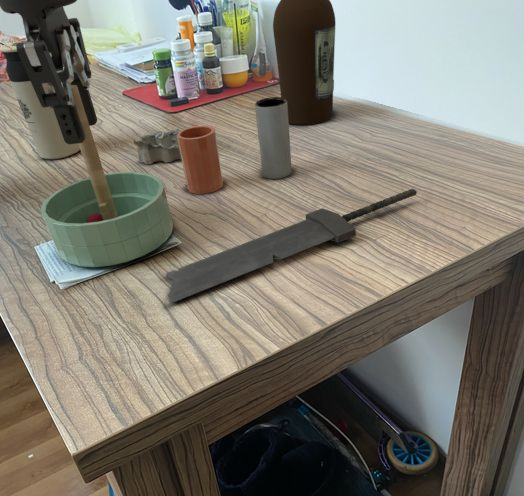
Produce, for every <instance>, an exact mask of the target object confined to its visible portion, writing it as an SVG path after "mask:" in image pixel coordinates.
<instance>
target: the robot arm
mask: <svg viewBox="0 0 524 496" xmlns="http://www.w3.org/2000/svg"><path fill="white" fill-rule="evenodd" d="M77 1H78V0H0V9H1V10H2V11H3V12H4V13H6V14H9V15H11V14H12V15H15V14H17V15H20V17H21V19H22V23H23V29H24V33H25V40H26V42H24V43H17V44H16V48H17V52H18V54H19V57H20V59H21V61H22V63H23V66H24V68H25V70H26V72H27V75H28V77H29V79H30V81H31V84H32V86H33V88H34V90H35V93H36V95H37V97H38V99H39V102H40V104H41V106H42V107H43V108H45V107H49V108H50V109H53V110H54V113H55V115H56V118H57V121H58V124H59V127H60V130H61V133H62V135H63V138H64V141H65V142H66V143H67V144H77V143H82V142H83V141H84V140H85V133H84V130H83V127H82V124H81V121H80V118H79V115H78V112H77V109H76V105H74V98H73V93H72V88H71V85H77V87H78V91H79V94H80V97H81V100H82V103H83V107H84V110H85V113H86V116H87V119H88V123H89V126H90V127H91V126H96V124H97V122H98V116H97V114H96V113H97V112H96V110H95V107H94V104H93V100H92V97H91V93H90V90H89V89H90V84H91V83H90V80H89V79H92V71H91V67H90V62H89V58H88V55H87V54H88V53H87V50H86V46H85V41H84V37H83V34H82V30H81V23H80V21H79V19H78V18H77V17H72V18H69V17H68V16H67V13H66V11H65V8H64V7H67V6H70V5H72V4H75V3H77ZM42 84H43V86H44V88H43V86H42ZM53 87H54V90H55V93H54V91H53ZM44 90H45V91H44Z"/></svg>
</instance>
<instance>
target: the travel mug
mask: <svg viewBox="0 0 524 496" xmlns="http://www.w3.org/2000/svg"><path fill="white" fill-rule="evenodd" d="M24 42H26V39H22V40H17V41H13V42H9V43H5V44H3V45H1V46H0V52H2V54H3V56H4V58H5V60H6V66H5V71H6V75H7V78H8V79H9V82H10V85H11V87H12V89H13V92H14V95H15V98H16V100H17V102H18V105H19V108H20V111H21V112H22V116H23V118H24V121H25V123H26V126H27V129H28V131H29V133H30V136H31V138H32V141H33V143H34V147H35V149H36V152H37V154H38V157H40V158H42V159H45V160H59V159H65V158H67V157H71V156H73V155H75V154H76V153H78V152H79V151H81V150H80V147H79V144H78V143H77V144H67V143H66V142H65V141H64V138H63V135H62V133H61V130H60V127H59V124H58V121H57V118H56V115H55V113H54V110H53V109H50V108H49V107H45V108H43V107H42V106H41V104H40V102H39V99H38V97H37V95H36V93H35V90H34V88H33V86H32V84H31V81H30V79H29V77H28V75H27V72H26V70H25V68H24V66H23V63H22V61H21V59H20V57H19V54H18V52H17V48H16V44H17V43H24ZM42 86H43V84H42ZM43 88H44V86H43ZM44 91H45V90H44ZM53 91H54V93H55V90H54V87H53Z"/></svg>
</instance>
